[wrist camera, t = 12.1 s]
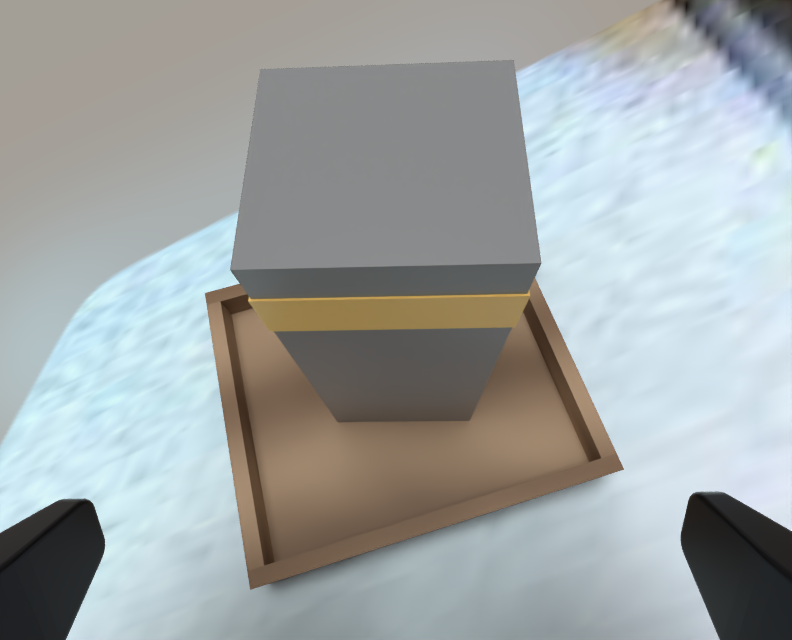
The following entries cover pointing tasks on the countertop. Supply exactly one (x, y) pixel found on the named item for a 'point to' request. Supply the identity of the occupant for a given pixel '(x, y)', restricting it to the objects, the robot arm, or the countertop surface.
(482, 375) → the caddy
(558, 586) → the countertop surface
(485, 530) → the countertop surface
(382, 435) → the tray
